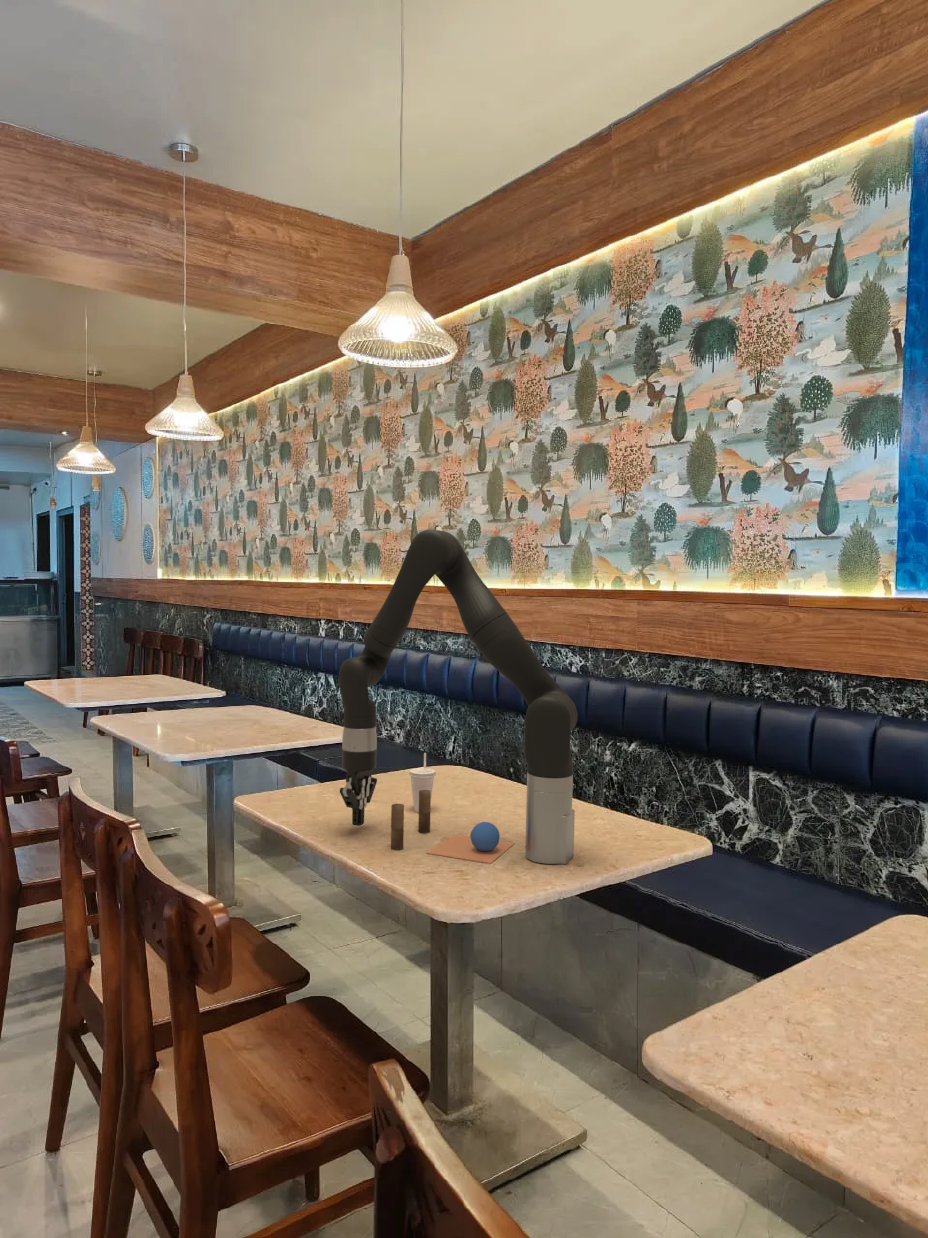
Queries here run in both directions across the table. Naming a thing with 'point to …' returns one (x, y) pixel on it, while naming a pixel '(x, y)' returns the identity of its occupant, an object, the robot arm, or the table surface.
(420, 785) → the smoothie
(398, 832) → the left post
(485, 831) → the ball
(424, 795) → the right post
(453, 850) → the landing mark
